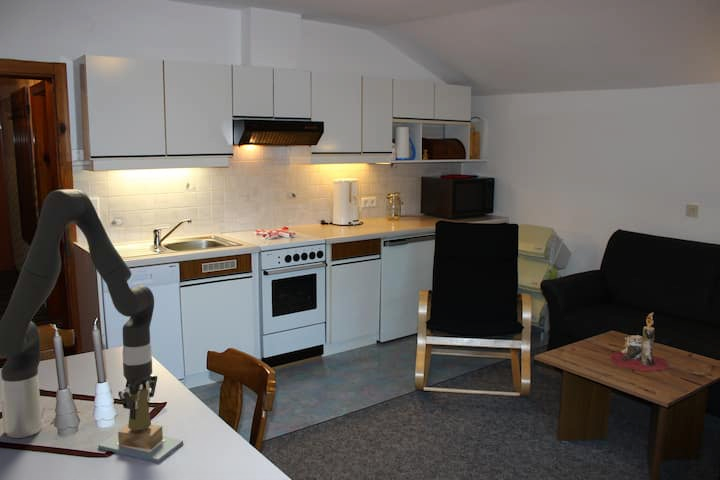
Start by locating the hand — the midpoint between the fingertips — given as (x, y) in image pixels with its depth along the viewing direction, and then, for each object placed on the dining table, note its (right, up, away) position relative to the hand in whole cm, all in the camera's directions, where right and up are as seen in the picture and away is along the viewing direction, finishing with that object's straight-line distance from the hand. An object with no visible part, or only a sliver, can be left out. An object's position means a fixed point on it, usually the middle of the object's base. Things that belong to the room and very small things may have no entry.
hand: (139, 417), depth 173 cm
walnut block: (0, -7, +1) cm, 8 cm away
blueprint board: (0, -9, +1) cm, 9 cm away
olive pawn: (0, -3, 0) cm, 2 cm away
